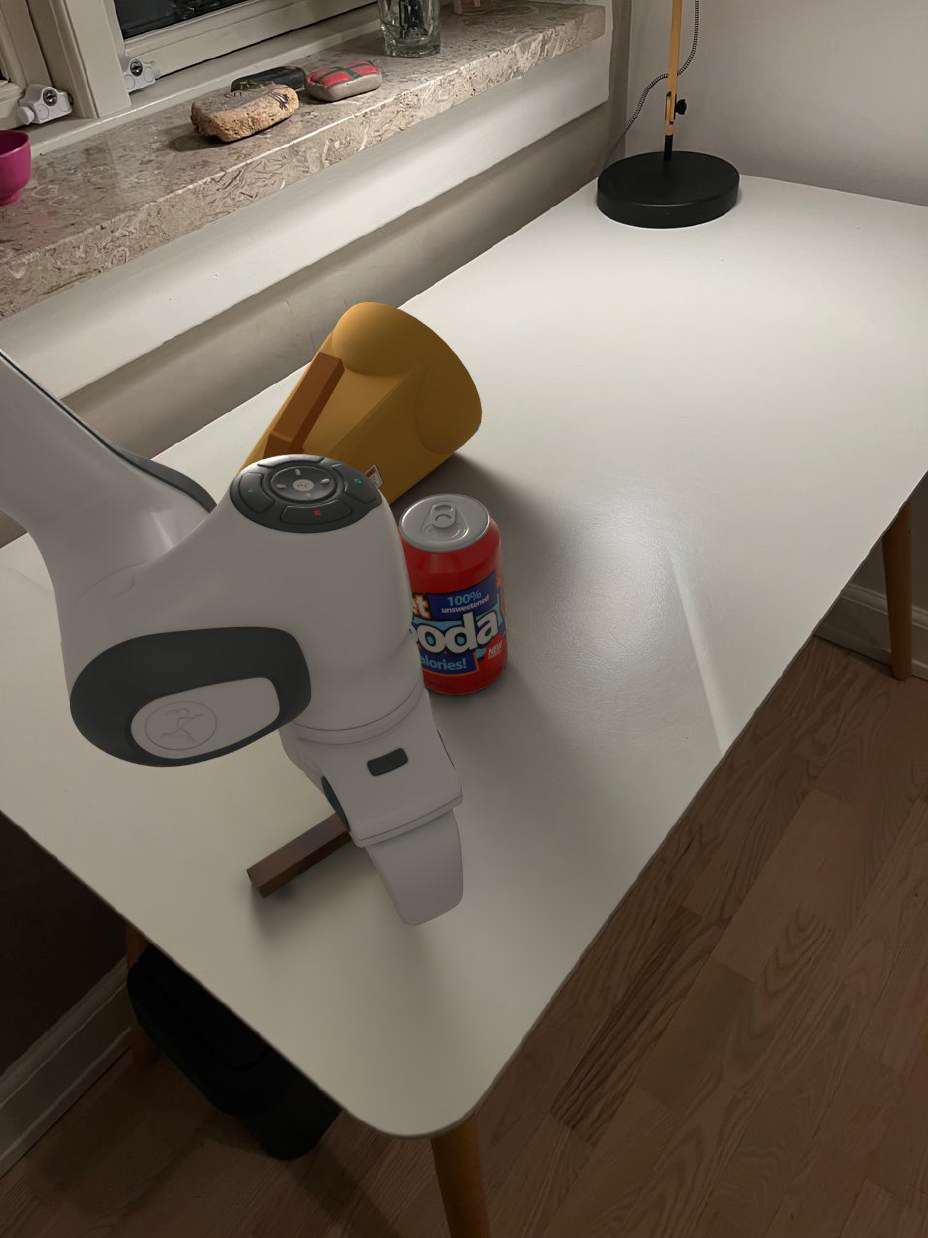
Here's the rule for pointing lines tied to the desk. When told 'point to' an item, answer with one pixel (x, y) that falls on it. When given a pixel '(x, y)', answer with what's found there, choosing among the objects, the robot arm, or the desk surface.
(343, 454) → the flared yellow plastic housing
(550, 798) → the desk surface
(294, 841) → the wooden mallet
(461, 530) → the soda can
